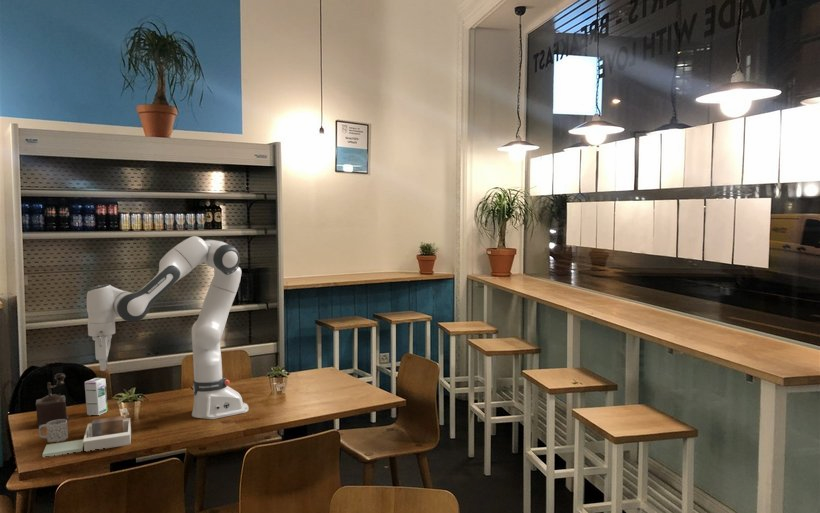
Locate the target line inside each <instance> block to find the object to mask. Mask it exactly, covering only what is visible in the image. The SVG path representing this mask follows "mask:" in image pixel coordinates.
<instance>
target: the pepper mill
mask: <svg viewBox="0 0 820 513" xmlns="http://www.w3.org/2000/svg"><path fill="white" fill-rule="evenodd" d="M65 378H66V374H65V373H61V372H59V373H56V374H55V375H54V379H55V381H56V384H55V385H52V382H50V381H49V382H47V390H48V395H46V396H44V397H42V398H39V399H36V400H35V401H36V402H35V409H36V423H37V429H39V426H40V425H44V424H46V423H47V422H50V421H53V420H58V419H66V420H67V422H69V421H68V420H69V418H70V417H69V416H68V414H67V404H66V402H67V401H66V395H64V394H62V395H61V393H59V394H56V393H53V394H52V389H53V388H56V387H58V386H60V387H61V386H62V385H64V384H65V382H64V380H65Z"/></svg>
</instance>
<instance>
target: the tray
mask: <svg viewBox="0 0 820 513" xmlns="http://www.w3.org/2000/svg"><path fill="white" fill-rule="evenodd" d="M131 424H132V423H131V417H129V418H128V417H127V418H123V427H124V433H118V434H111V435H104V436H97V437H92V422H91V423H87V425H86V429H85V432H84V436H83V439H84V440H83V443H84V447H83V450H84V451H86V452H91V451H90V450H92V451H96V450H95V449H99V450H104V449H103V448H105V449H110V448H117V447H123V446H130V445H131V440H132V439H131V438H132V427H131V426H132V425H131Z"/></svg>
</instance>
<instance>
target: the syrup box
mask: <svg viewBox="0 0 820 513" xmlns="http://www.w3.org/2000/svg"><path fill="white" fill-rule="evenodd" d="M84 391H85V404H86V405H85V406H86V415H87V416H91V415H99V416H101V415H103V414H105V413H107V411H108V412H109V408H108V394H107V382H106V378H103V377H94V378H92V379H89V380H86V381H84Z"/></svg>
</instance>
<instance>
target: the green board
mask: <svg viewBox="0 0 820 513" xmlns="http://www.w3.org/2000/svg"><path fill="white" fill-rule="evenodd" d="M83 440H84V438H83V439H75V440H70V441H61V442H56V443H49V444H46V445H45V447H44V450H43V452H42V458H46V457H45V456H50V457H55V456H62V454H63V455H68V454H67V453H69V454H74V453H73V452H76V453H82V452H83V450H84V443H83ZM81 451H82V452H81ZM54 455H55V456H54Z"/></svg>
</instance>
